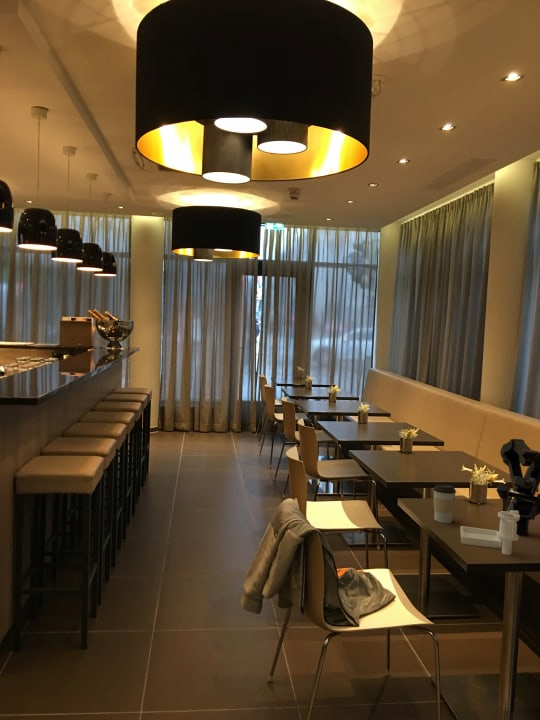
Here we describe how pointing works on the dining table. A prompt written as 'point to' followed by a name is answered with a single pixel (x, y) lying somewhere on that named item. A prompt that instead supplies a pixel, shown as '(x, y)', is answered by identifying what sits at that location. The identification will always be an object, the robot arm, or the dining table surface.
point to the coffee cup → (444, 502)
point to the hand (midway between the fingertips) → (515, 516)
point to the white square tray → (480, 537)
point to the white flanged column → (508, 529)
